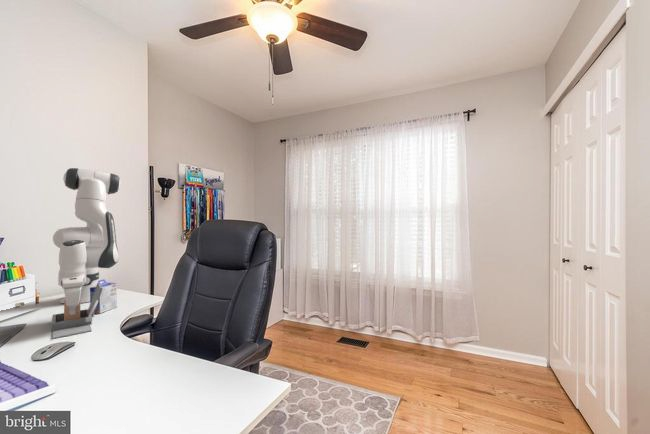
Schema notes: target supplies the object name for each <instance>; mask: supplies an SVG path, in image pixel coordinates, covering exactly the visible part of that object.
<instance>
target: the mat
mask: <svg viewBox="0 0 650 434" xmlns="http://www.w3.org/2000/svg"><path fill="white" fill-rule="evenodd" d="M91 325H92V324H91ZM91 325H90V324H89V325H83V326H78V327H73V328H68V329H62V330H57V331H53V332H52V340H55V339H60V338H66V337H71V336H75V335H79V334H86V333H90V332H92V326H91Z"/></svg>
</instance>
